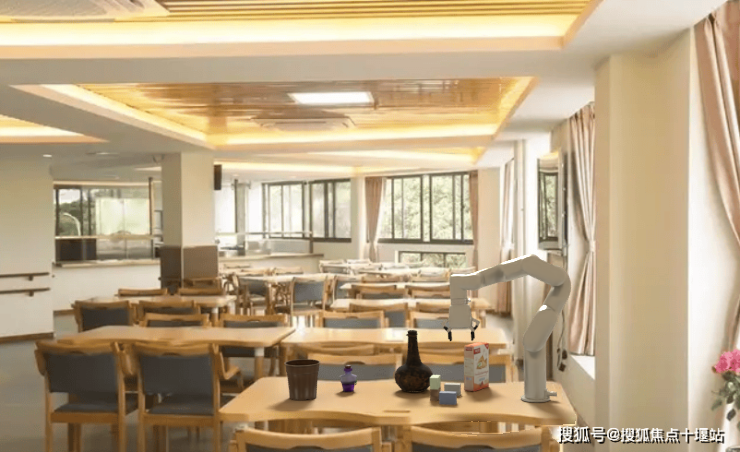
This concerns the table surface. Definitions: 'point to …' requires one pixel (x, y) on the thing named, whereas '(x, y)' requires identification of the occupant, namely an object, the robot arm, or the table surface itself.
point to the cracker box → (476, 366)
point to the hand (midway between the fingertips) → (461, 340)
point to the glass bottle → (413, 368)
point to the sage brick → (435, 382)
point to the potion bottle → (348, 379)
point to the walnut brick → (434, 394)
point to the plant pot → (302, 378)
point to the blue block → (448, 397)
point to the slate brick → (453, 387)
